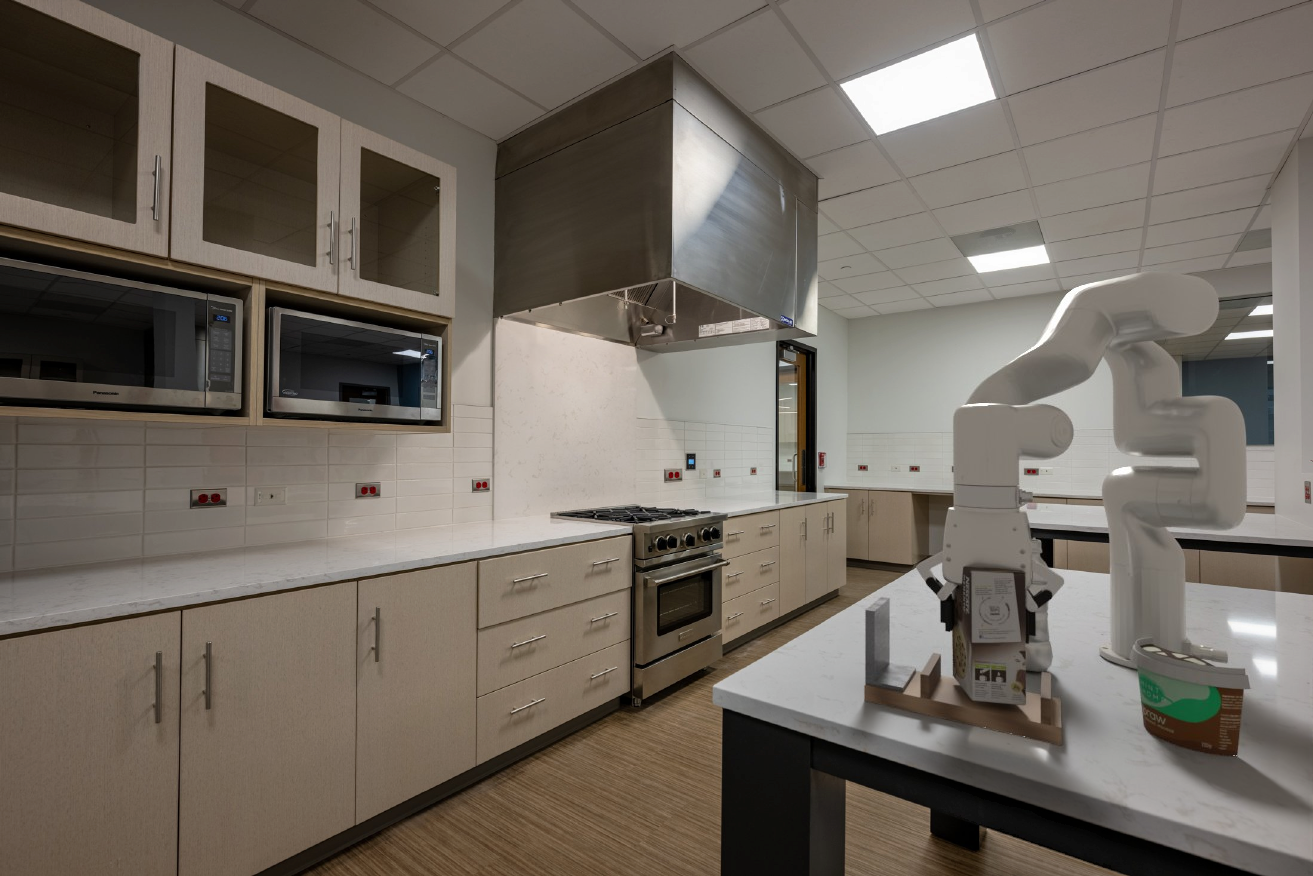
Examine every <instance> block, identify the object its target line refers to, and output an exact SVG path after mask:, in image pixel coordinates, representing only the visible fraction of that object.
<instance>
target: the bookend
mask: <svg viewBox="0 0 1313 876" xmlns="http://www.w3.org/2000/svg"><path fill="white" fill-rule="evenodd" d="M890 599H891V598H890V597H885V596H884V597H883V596H880V597H879V598H878V599H877V600H875V601H874V602H873V603H872V604H870V605H869V607H867V608H866V609H865V613H864V614H865V619H864V620H865V622H864V623H865V629H864V630H865V636H864V637H865V640H864V641H865V644H864V645H865V648H864V649H865V651H864V652H865V654H864V655H865V659H864V660H865V662H864V663H865V664H864V665H865V667H864V668H865V669H864V672H865V673H864V674H865V675H864V676H865V677H864V678H865V680H864V681H865V682H864V683H865V684H866V685H871V686H875V687H880V688H885V689H889V690H894V691H899V692H904V690H905V688H906V687H907V685H908V684H909V682H910V681H911V679H912V677H913V676H914V674H915V673H916V671H917V667H915V666H909V665H904V664H900V663H899V664H898V663H893V662H891V661H890V657H891V656H890V654H891V653H890V651H891V650H890V649H891V647H890V646H891V643H890V641H891V639H890V638H891V636H890V635H891V633H890V631H891V629H890V628H891V627H890V625H891V624H890V623H891V622H890V618H891V617H890V613H891V612H890V610H891V609H890V607H891V605H890V604H891V602H890V601H891V600H890ZM865 684H864V685H865Z"/></svg>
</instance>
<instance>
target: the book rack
mask: <svg viewBox="0 0 1313 876" xmlns="http://www.w3.org/2000/svg"><path fill="white" fill-rule="evenodd" d="M1040 677H1041V679H1040V683H1041V684H1040V694H1038V693H1035V692H1034V693H1033V692H1029V691H1026V704H1025V705H1015V704H1005V703H995V702H983V701H973V700H972V699H971V698H970V697H969V695H968V694H967V693H966V692H965V690H964V689H963V688H962V687H961V685H960V684H959V683H958V682H957V680H956V679H955V678H954V677H950V676H945V675H942V654H941V653H938V652H932V654H931V656H930V657H929V659H928V660H927V662H926V664H925V666H924V667H923V669H922V670H921V671H919V670H916V673H915V674H914V676H913V677H912V679H911V681H910V682H909V684H908V685H907V687H906V688H905V690H904V692H899V691H894V690H889V689H885V688H880V687H875V686H871V685H866V684H864V686H863V687H864V688H863V690H864V692H863V693H864V694H863V695H864V697H863V699H864V700H863V701H865V702H869V703H873V704H879V705H882V706H887V707H890V708H896V709H901V710H904V711H908V712H914V713H918V714H921V715H926V716H931V717H935V718H941V719H943V720H948V721H953V722H958V723H961V724H965V725H971V726H974V727H975V726H976V727H978V726H979V728H983V727H986V728H985V729H987V728H989V729H988V730H992V731H996V730H998V731H997V732H1000V731H1001V733H1005V732H1006V733H1005V734H1009V733H1012V734H1011V735H1013V736H1018V735H1019V737H1022V736H1025V737H1024V738H1027V737H1028V738H1027V739H1031V738H1032V739H1033V740H1036V741H1039V742H1044V743H1049V744H1054V745H1057V746H1058V745H1059V746H1062V743H1063V742H1062V713H1061V712H1062V711H1061V710H1062V708H1061V707H1062V706H1061V705H1062V703H1061V698H1060V697H1055V696H1052V673H1051V672H1045V671H1041V676H1040Z"/></svg>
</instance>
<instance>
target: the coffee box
mask: <svg viewBox="0 0 1313 876" xmlns="http://www.w3.org/2000/svg"><path fill="white" fill-rule="evenodd" d="M1025 575H1026V572H1024V571H1019V570H1011V569H1001V568H978V567H966V566H964V567H963V575H962V584H961V585H957V586H956V587H955V589H954V590H953V591H952V592H951V594H952V597H953V599H954V628H953V630H952V631H951V632H952V633H951V635H952V644H951V645H952V646H951V647H952V678H955V679H956V680H957V682H958V683H959V684H960V685H961V687H962V688H963V689H964V690H965V692H966V693H967V694H968V695H969V697H970V698H971V699H972V700H973V701H983V702H995V703H1005V704H1015V705H1025V704H1026V692H1027V674H1026V673H1027V670H1026V623H1025V622H1026V590H1025Z"/></svg>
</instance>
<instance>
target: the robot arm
mask: <svg viewBox="0 0 1313 876" xmlns="http://www.w3.org/2000/svg"><path fill="white" fill-rule="evenodd" d="M1219 312H1220V300H1219V297H1218V293H1217V292H1216V289H1215V288H1214V287H1213V285H1212V284H1211V283H1209V282H1208V281H1207V280H1206V279H1203V278H1202V277H1199V276H1195V275H1190V274H1189V275H1188V274H1184V273H1183V274H1182V273H1178V272H1171V271H1163V270H1159V271H1158V270H1156V271H1155V270H1153V271H1152V270H1151V271H1142V272H1137V273H1131V274H1128V275H1123V276H1119V277H1114V278H1109V279H1105V280H1100V281H1095V282H1091V283H1087V284H1084V285H1080V286H1078V287H1075V288H1073V289H1072V290H1071V291H1069V292H1068V293H1067V294H1065V296H1064V297H1063V298H1062V300H1061V301H1060V303H1059V304H1058V305H1057V308H1056V309H1055V311H1054V312H1053V314H1052V315H1051V316H1050V319H1049V320H1048V322H1047V323H1046V325H1045V326H1044V328H1043V330H1042V332H1041V333H1040V335H1039V336H1038V338H1037V339H1036V341H1035V343H1034V345H1032V347H1031V348H1030V349H1029V350H1027V351H1026V352H1024V353H1021V355H1018V356H1017V357H1015V358H1014V359H1012V360H1011V361H1010V362H1008V363H1007V364H1005V365H1003V366H1001V368H998V369H997V370H996V371H995V372H993V373H992V374H991V375H988V376H987V377H986V378H985V379H984V380H983V381H981V382H980V383H979V385H978V386H976V388H975V389H974V390H973V392H972V393H971V394H970V396H969V397H968V399H967V400H966V402H965V403H964V405H961V406H959V407H957V408H956V410H955V411H954V414H953V416H952V419H953V420H952V422H953V423H952V424H953V425H952V431H953V433H952V434H953V435H952V436H953V437H952V438H953V439H952V440H953V441H952V442H953V443H952V446H953V449H952V452H953V455H952V456H953V458H952V459H953V460H952V461H953V466H952V467H953V468H952V469H953V470H952V471H953V473H952V474H953V506H952V507H948V509H947V513H946V518H945V524H944V532H943V542H942V550H941V551H940V552H937V553H936V554H934V555H932V556H930V557H928V558H926V559H924V560H923V561H921V562H919V563H918V564H917V565H915V569H916V570H917V572H918V573H919V575H920V576H921V578H922V579H923V581H924V582H925V584H926V586H927V587H928V588H929V589H930V590H931V591H932V592H933V593H934V594H935V595H936V596H937V599H938V600H939V601H940V603H939V605H940V606H939V607H940V609H939V610H940V612H939V613H940V617H939V618H940V619H939V620H940V623H943V624H945V625H944V627H945V629H944V631H945V632H948V633H950V632H952V630H953V628H954V599H953V597H952V591H953V590H954V589H955V587H956V586H957V585H961V584H962V575H963V567H964V566H966V567H978V568H1001V569H1011V570H1019V571H1024V572H1026V575H1025V590H1026V622H1025V623H1026V644H1029V635H1030V636H1036V611H1037V610H1038V608H1040V607H1041V606H1043V605H1044V604H1045V603H1047V602H1048V601H1049V602H1050V601H1051V600H1052V599H1053V597H1054V596H1055V595H1056V594H1057V593H1058V591H1060V590H1061V588H1062V587H1063V586H1064V584H1065V579H1064V578H1063V576H1061V575H1060V574H1058V573H1056V572H1055V571H1053V570H1052V569H1050V568H1049V567H1048V568H1047V567H1046V566H1044V565H1043V564H1041V563H1040V562H1038V561H1037V560H1035V559H1034V558H1032V544H1031V539H1032V536H1031V526H1030V521H1029V517H1028V514H1027V511H1026V510H1021V509H1020V506H1022V505H1023V504H1026V503H1033V502H1034V501H1033V500H1034V497H1033V495H1034V494H1033V493H1034V492H1033V491H1026V490H1023V489H1022V488H1020V461H1046V460H1051V459H1054V458H1057V457H1060V456H1061V455H1062V454H1064V453H1065V452H1067V450H1068V449H1069V447H1071V445H1072V442H1073V439H1074V437H1075V436H1074V435H1075V434H1074V433H1075V432H1074V431H1075V430H1074V425H1073V422H1072V420H1071V418H1070V417H1069V415H1068V414H1067V413H1066V412H1065V411H1064V410H1062V409H1061V408H1060V407H1057V406H1055V405H1051V404H1047V403H1046V404H1045V403H1034V402H1036V401H1039V400H1042V399H1045V398H1048V397H1051V396H1055V395H1057V394H1060V393H1062V392H1065V391H1069V390H1070V389H1072V388H1075V387H1077V386H1080V385H1081V384H1083V383H1085V382H1086V381H1088V380H1089V379H1090V378H1091V377H1092V376H1093V375H1094V374H1095V373H1096V370H1097V368H1098V366H1099V364H1100V363H1101V361H1102V359H1104V360H1105V362H1106V363H1107V365H1108V368H1109V369H1110V373H1111V378H1112V379H1111V380H1112V426H1113V431H1112V432H1113V440H1114V445H1115V446H1116V449H1117V450H1118V451H1120V452H1121V453H1122V454H1124V455H1126V456H1131V457H1138V458H1160V459H1161V458H1164V459H1165V458H1167V459H1169V458H1171V459H1173V458H1174V459H1175V458H1177V459H1179V458H1180V459H1182V458H1183V459H1185V458H1187V459H1196V460H1197V463H1198V466H1171V465H1130V466H1123V467H1120V468H1116V469H1113V470H1112V471H1110V472H1109V473H1108V474H1107V475H1106V476H1105V478H1104V480H1103V481H1102V485H1101V498H1102V503H1103V507H1104V511H1105V516H1106V521H1107V527H1108V537H1109V539H1108V540H1109V588H1110V589H1109V598H1110V599H1109V607H1110V608H1109V611H1110V613H1109V615H1110V617H1109V618H1110V619H1109V620H1110V626H1109V627H1110V642H1106V643H1103V644H1100V645H1099V647H1098V653H1099V656H1102V657H1103V658H1104V659H1106V660H1107V661H1110V662H1112V663H1115V664H1116V665H1117V664H1118V665H1121V666H1124V667H1128V668H1132V669H1134V670H1138V668H1137V665H1136V664H1135V663H1133V662H1132V661H1131V660H1130V655H1131V651H1132V647H1133V645H1135V642H1136V640H1138V639H1141V638H1149V637H1153V641H1154V645H1155V646H1158V647H1161V648H1164V649H1167V650H1170V651H1173V652H1177V653H1183V654H1188V655H1192V656H1195V657H1198V658H1200V659H1202V660H1204V661H1210V662H1213V663H1220V664H1221V663H1222V664H1228V661H1229V656H1228V651H1227V650H1225V649H1218V648H1213V646H1210V645H1199V644H1194V643H1193V642H1191V640H1190V639H1189V638H1188V636H1187V616H1186V612H1187V610H1186V609H1187V606H1186V601H1187V600H1186V599H1187V598H1186V596H1187V595H1186V558H1185V557H1186V556H1185V554H1184V553H1185V552H1184V551H1183V549H1182V547H1181V545H1180V543H1179V542H1178V541H1177V540H1176V538H1175V537H1174V536H1173V534H1172V533H1170V531H1169V530H1168V529H1167V528H1179V529H1187V530H1189V529H1191V530H1192V529H1193V530H1200V531H1201V530H1202V531H1214V532H1215V531H1216V532H1219V531H1220V532H1221V531H1222V532H1225V531H1231V530H1233V529H1236V528H1237V527H1238V526H1241V523H1242V522H1243V520H1244V519H1245V516H1246V511H1247V503H1248V502H1247V501H1248V500H1247V499H1248V498H1247V496H1248V494H1247V493H1248V490H1247V489H1248V483H1247V482H1248V481H1247V479H1248V478H1247V473H1248V472H1247V433H1246V423H1245V418H1244V415H1243V413H1242V411H1241V409H1240V407H1239V406H1238V404H1237V403H1236V402H1234V401H1233V400H1232V399H1230V398H1228V397H1225V396H1220V395H1194V396H1182V395H1181V391H1180V369H1179V365H1178V363H1177V362H1176V361H1175V359H1174V358H1173V356H1172V355H1170V354H1169V352H1167V351H1166V350H1165V349H1164V348H1163V347H1161V346H1160V345H1159V344H1158V343H1156V342H1155V341H1161V340H1168V339H1175V338H1176V339H1178V338H1185V337H1191V336H1192V337H1193V336H1197V335H1200V334H1202V333H1204V332H1206V331H1208V330H1209V329H1210V328H1211V327H1212V326H1213V325H1214V323H1215V322H1216V320H1217V318H1218V315H1219ZM1031 403H1032V404H1031ZM940 564H941V567H942V568H941V571H942V572H941V573H942V578H943V579H944V580H945V581H946V582H945V583H944V584H943V583H942V582H941V581H940V580H939V579H938V578H937V577H936V576H935V575H934V573H933V571H932V568H934V567H936V566H938V565H940ZM1033 572H1035V573H1036V574H1038V575H1039V576H1041V577H1042V578H1044V579H1045V580H1047V582H1048V583H1047V585H1046V586H1045V587H1044V588H1043V589H1042V590H1041V591H1039V592H1038V593H1037V594H1035V595H1033V594H1032V592H1031V591H1030V589H1029V588H1030V586H1031V582H1032V579H1033Z"/></svg>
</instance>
